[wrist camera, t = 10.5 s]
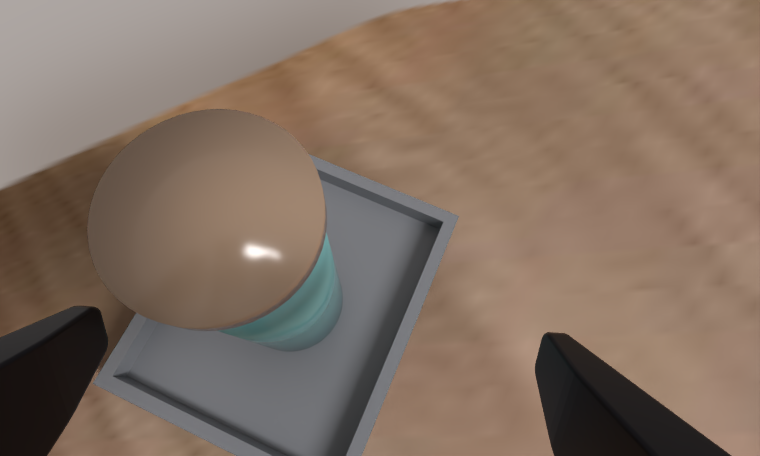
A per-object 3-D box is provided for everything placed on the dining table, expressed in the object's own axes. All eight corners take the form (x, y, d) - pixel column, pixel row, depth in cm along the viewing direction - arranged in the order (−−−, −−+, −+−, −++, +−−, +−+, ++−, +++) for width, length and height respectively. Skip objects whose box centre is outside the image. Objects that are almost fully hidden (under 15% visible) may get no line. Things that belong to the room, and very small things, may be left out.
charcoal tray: (342, 496, 20) (340, 507, 18) (114, 383, 21) (92, 383, 20) (452, 227, 24) (458, 216, 23) (257, 146, 26) (249, 129, 24)
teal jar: (352, 348, 22) (334, 310, 10) (239, 363, 21) (77, 342, 9) (341, 241, 23) (314, 99, 11) (236, 253, 23) (96, 119, 11)
